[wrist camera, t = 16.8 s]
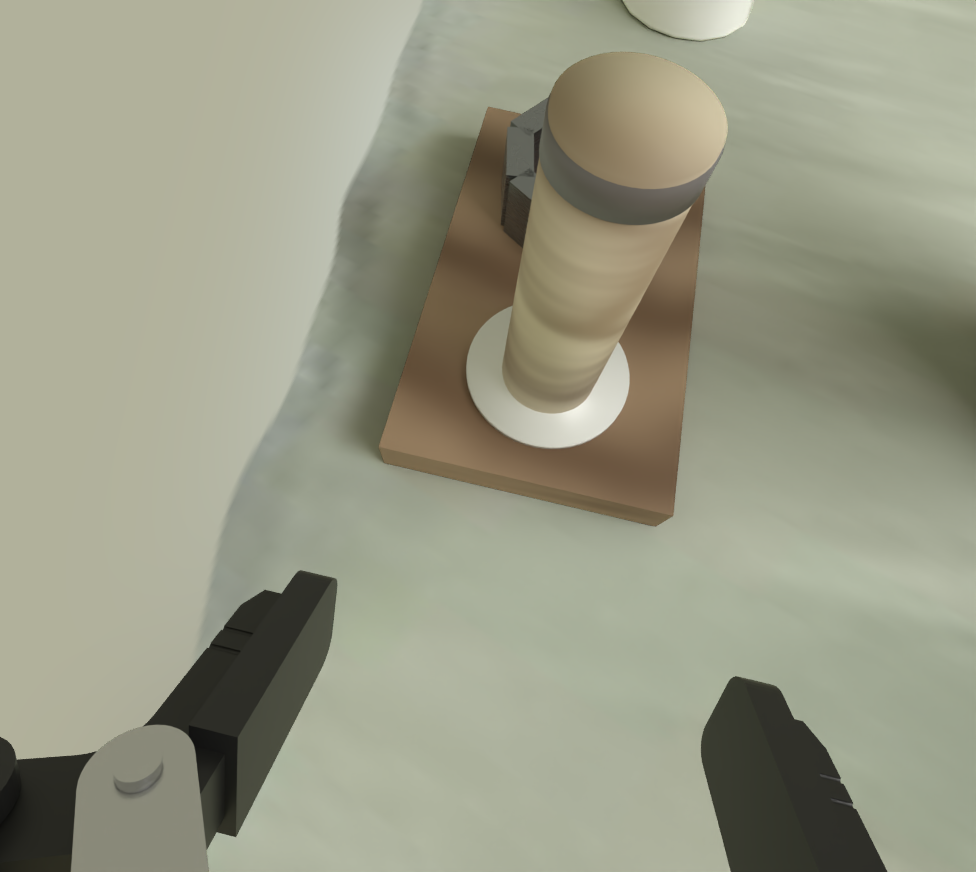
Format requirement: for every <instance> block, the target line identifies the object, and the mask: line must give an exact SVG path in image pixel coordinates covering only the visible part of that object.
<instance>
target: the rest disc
mask: <svg viewBox="0 0 976 872" xmlns="http://www.w3.org/2000/svg"><path fill="white" fill-rule="evenodd" d="M512 307H513V306H511V307H508V308H506V309H504V310H502V311H500V312H499V313H497V314H496V315H494V316H493V317H491V318H490V319H489V320H488V321H487V322H486V323H485V324H484V325H483V326H482V327H481V328H480V330H479V331H478V332H477V334H476V336H475V337H474V339H473V341H472V343H471V346H470V349H469V352H468V356H467V364H466V378H467V384H468V389H469V392H470V395H471V398H472V400H473V402H474V404H475V406H476V408H477V409H478V410H479V412H480V413H481V415H482V416H483V417H484V418H485V420H486V421H487V422H488V423H489V424H490V425H491V426H493V427H494V428H495V429H496V430H497V431H499V432H500V433H502V434H503V435H505V436H506V437H508V438H510V439H512V440H514V441H516V442H518V443H521V444H524V445H527V446H531V447H535V448H542V449H563V448H570V447H574V446H578V445H581V444H583V443H586V442H588V441H590V440H592V439H594V438H596V437H597V436H599V435H600V434H601V433H603V432H604V431H605V430H606V429H607V428H608V427H609V426H610V425H611V424H612V423H613V422H614V421H615V419H616V418H617V416H618V415H619V413H620V412H621V410H622V408H623V406H624V404H625V402H626V398H627V395H628V391H629V368H628V363H627V359H626V356H625V354H624V351H623V349H622V347H621V345H620V344H619V342H618V343H617V345H616V347H615V349H614V351H613V352H612V354H611V356H610V358H609V360H608V362H607V364H606V365H605V367H604V369H603V371H602V373H601V375H600V376H599V378H598V380H597V382H596V384H595V386H594V388H593V389H592V391H591V393H590V395H589V396H588V397H587V399H586V400H585V401H584V402H583V403H582V404H580V405H579V406H578V407H576V408H574V409H572V410H569V411H567V412H563V413H556V414H548V413H541V412H537V411H534V410H532V409H529V408H527V407H525V406H524V405H522V404H521V403H520V402H518V401H517V400H516V399H515V398H514V397H513V396H512V395H511V393H510V392H509V390H508V389H507V387H506V385H505V382H504V379H503V375H502V363H503V357H504V352H505V346H506V340H507V335H508V329H509V324H510V318H511V312H512Z"/></svg>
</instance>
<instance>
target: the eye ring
mask: <svg viewBox="0 0 976 872" xmlns="http://www.w3.org/2000/svg"><path fill="white" fill-rule="evenodd" d="M547 101H548V98H547V99H545V100H543V101H542V102H540V103H539V104H537V105H536V106H534V107H532V108H531V109H529V110H528V111H526V112H525V113H523V114H521V115H520V116H518V117H517V118H515V119H513V120H512V121H511V124H510V127H507V136H506V145H505V154H504V163H503V173H502V188H501V225H502V226H504V231H503V232H505V233H506V234H507V235H508V236H509V237H510V238H511V239H513V240H514V241H515V242H516V243H517V244H518V245H519V246H521V247H522V248H523V245H524V240H525V234H526V229H527V223H528V217H529V212H530V206H531V201H532V195H533V189H534V184H535V178H536V173H537V167H538V161H539V145H540V138H541V133H542V127H543V121H544V116H545V110H546V105H547Z"/></svg>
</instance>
